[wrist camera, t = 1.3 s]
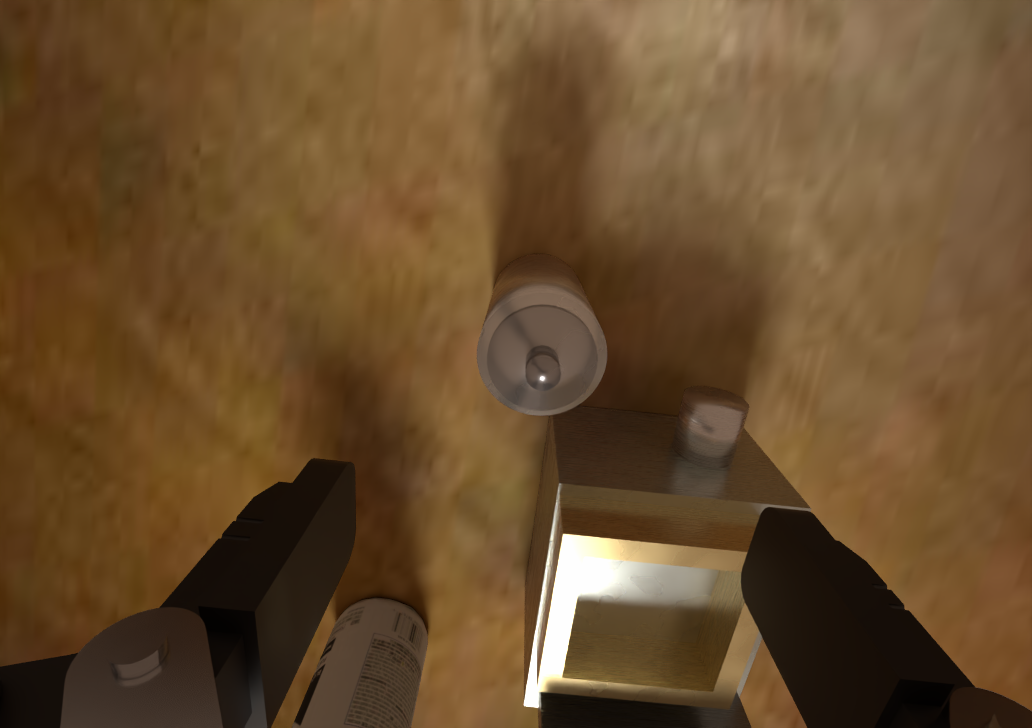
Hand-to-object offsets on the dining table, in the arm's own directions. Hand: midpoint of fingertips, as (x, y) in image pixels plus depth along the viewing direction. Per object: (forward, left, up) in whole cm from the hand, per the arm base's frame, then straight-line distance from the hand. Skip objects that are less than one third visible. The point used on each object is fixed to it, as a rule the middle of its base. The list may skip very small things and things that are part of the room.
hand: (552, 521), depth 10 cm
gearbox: (+11, +7, -18) cm, 23 cm away
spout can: (0, 0, -18) cm, 18 cm away
